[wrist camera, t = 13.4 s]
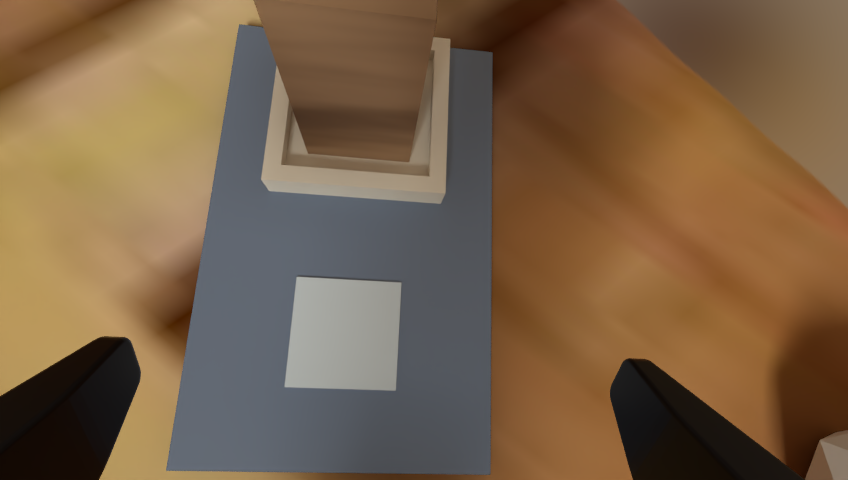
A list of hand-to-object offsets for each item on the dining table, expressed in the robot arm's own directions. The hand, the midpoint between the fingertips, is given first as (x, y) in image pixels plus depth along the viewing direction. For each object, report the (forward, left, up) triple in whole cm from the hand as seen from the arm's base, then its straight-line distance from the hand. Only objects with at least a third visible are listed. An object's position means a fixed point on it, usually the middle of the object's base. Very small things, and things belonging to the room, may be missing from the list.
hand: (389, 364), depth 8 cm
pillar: (+11, +5, -12) cm, 17 cm away
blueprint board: (+5, +3, -14) cm, 15 cm away
